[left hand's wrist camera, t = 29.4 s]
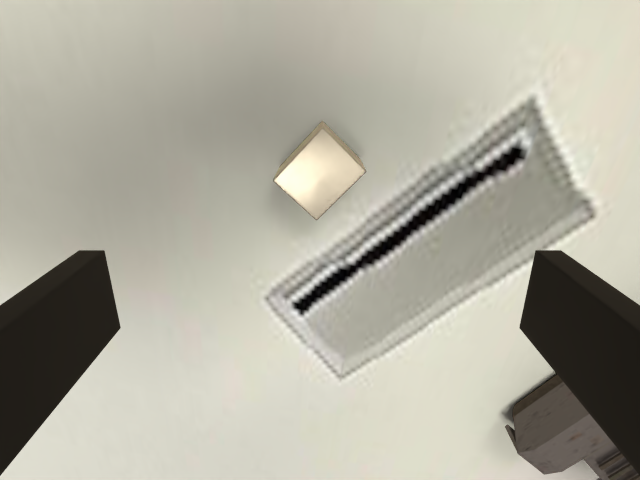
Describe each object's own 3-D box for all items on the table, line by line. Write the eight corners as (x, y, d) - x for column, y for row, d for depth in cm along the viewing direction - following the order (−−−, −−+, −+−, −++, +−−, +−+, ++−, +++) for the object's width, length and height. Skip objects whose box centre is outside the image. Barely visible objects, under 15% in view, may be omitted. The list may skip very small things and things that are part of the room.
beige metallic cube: (317, 202, 34) (316, 220, 29) (279, 167, 33) (272, 180, 28) (360, 159, 32) (366, 171, 28) (322, 120, 31) (322, 127, 27)
